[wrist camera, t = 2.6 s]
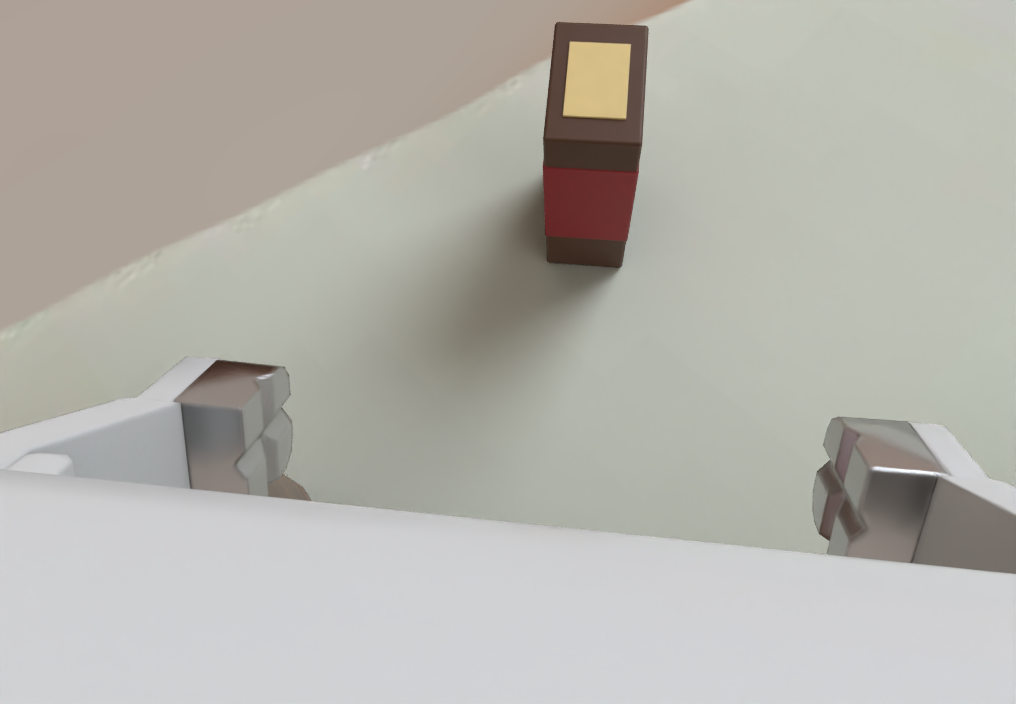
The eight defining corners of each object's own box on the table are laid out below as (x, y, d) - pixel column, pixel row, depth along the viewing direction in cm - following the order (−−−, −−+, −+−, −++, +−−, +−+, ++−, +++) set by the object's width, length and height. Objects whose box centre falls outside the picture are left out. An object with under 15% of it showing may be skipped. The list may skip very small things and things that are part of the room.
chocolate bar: (555, 166, 32) (554, 18, 25) (628, 170, 32) (650, 22, 24) (545, 264, 31) (541, 138, 23) (622, 269, 31) (643, 144, 23)
